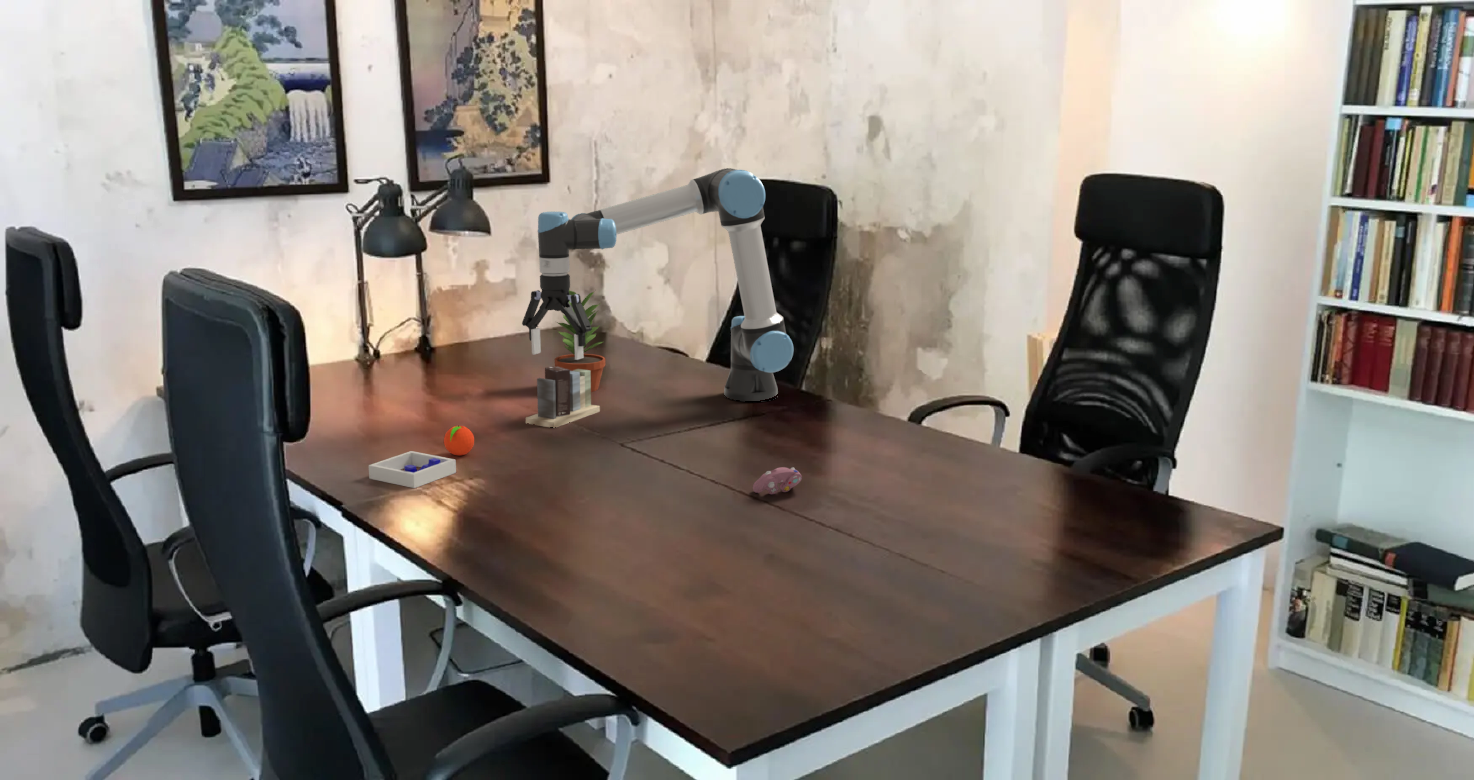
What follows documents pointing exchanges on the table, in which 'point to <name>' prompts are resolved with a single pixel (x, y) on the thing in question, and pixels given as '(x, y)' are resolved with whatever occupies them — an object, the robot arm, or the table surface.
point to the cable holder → (413, 468)
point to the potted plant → (589, 360)
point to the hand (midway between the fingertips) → (557, 356)
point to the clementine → (459, 440)
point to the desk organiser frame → (393, 473)
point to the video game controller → (777, 480)
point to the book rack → (578, 400)
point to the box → (560, 388)
